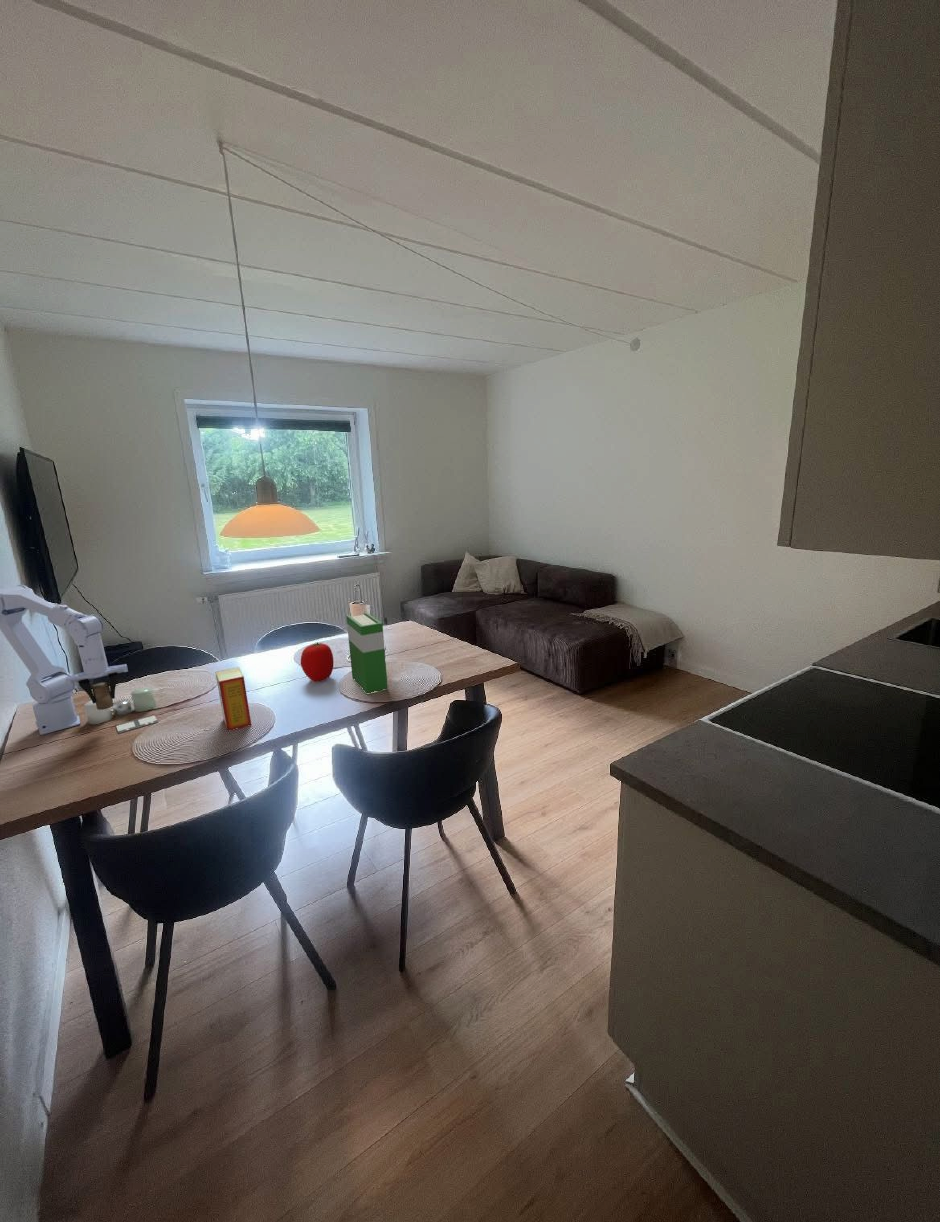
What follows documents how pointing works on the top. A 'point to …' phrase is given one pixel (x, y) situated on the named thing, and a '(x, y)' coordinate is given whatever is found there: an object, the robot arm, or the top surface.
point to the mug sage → (143, 699)
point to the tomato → (317, 662)
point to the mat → (136, 723)
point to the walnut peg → (102, 695)
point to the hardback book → (367, 652)
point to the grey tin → (122, 707)
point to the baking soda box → (233, 698)
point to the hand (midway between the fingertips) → (103, 700)
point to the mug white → (97, 713)
